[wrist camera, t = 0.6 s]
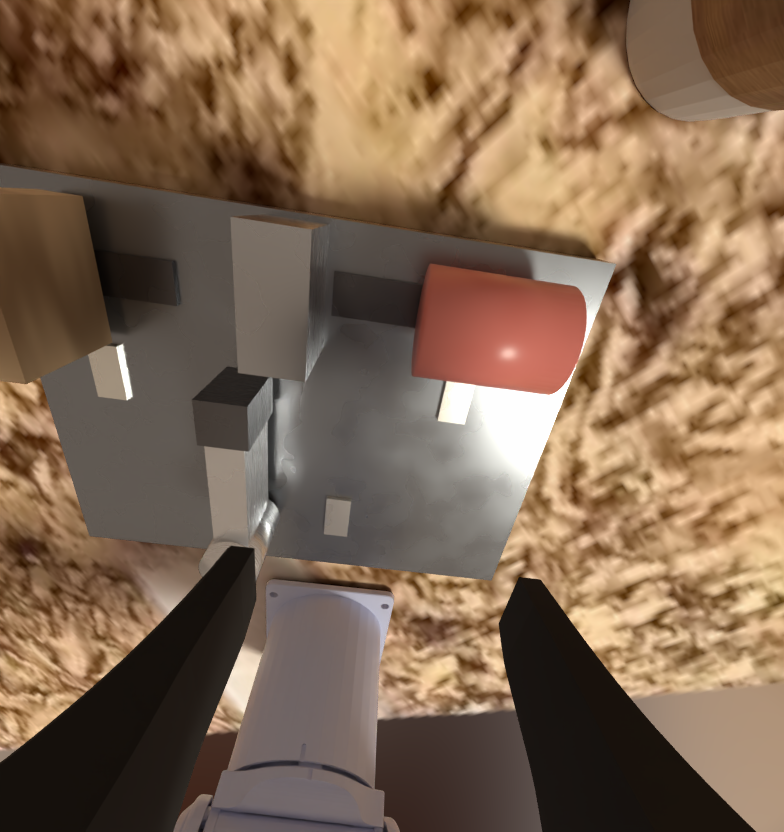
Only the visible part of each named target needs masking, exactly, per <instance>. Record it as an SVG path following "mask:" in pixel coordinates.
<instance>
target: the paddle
mask: <svg viewBox="0 0 784 832" xmlns="http://www.w3.org/2000/svg"><path fill="white" fill-rule="evenodd" d="M110 343H113V342H112V337H111V332H110V327H109V322H108V317H107V313H106V308H105V303H104V298H103V293H102V288H101V283H100V279H99V274H98V269H97V264H96V259H95V254H94V249H93V245H92V240H91V235H90V230H89V225H88V220H87V215H86V210H85V206H84V201H83V196H79V195H72V194H66V193H60V192H53V191H47V190H41V189H25V188H2V187H0V381H5V382H13V383H21V384H28V383H30V382H32V381H34V380H36V379H38V378H40V377H42V376H44V375H46V374H49V373H51V372H53V371H55V370H57V369H59V368H61V367H63V366H65V365H67V364H69V363H71V362H73V361H75V360H77V359H80V358H82V357H84V356H86V355H88V354H90V353H92V352H94V351H96V350H98V349H100V348H102V347H104V346H106V345H108V344H110Z"/></svg>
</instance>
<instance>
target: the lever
mask: <svg viewBox="0 0 784 832" xmlns="http://www.w3.org/2000/svg"><path fill="white" fill-rule="evenodd" d="M192 406H193V415H194V424H195V432H196V441H197V445H198V446H204V449H205V459H206V469H207V478H208V488H209V498H210V508H211V517H212V527H213V539H212V540H211V542H210V544H209V546H208V548H207V550H206V551H205V553H204V555H203V557H202V559H201V560H200V562H199V572H200V574H201V576H202V577H203V576H204V575H205V574H206V573H207V572H208V571H209V569H210V568H211V567H212V566H213V565H214V564H215V562H216V561H217V560H218V559H219V558H220V556H221V555H222V554H223V553H224V552H225V550H226V549H227V548H228V547H230V546H239V547H249V548H255V575H256V580H257V578H258V575H259V572H260V570H261V567H262V564H263V562H264V559H265V556H266V554H267V551H268V548H269V546H270V543H271V540H272V538H273V535H274V532H275V530H276V527H277V524H278V522H279V519H280V513H279V510H278V508H277V506H276V505H275V504H274V503H273V502H272V501H271V500H269V499H268V427H267V421H268V419H269V418H270V416H271V414H272V413H273V378H272V377H264V376H257V375H250V374H242V373H238V368H235V367H228V366H227V367H226V368H225V369H224V370H223V371H222V372H220V373H219V374H218V375H217V376H216V377H215V378H214V379H213V380H212V381H211V382H210V383H209V384H208V385H207V386H206V387H205V388H204V389H203V390H201V391H200V392H199V393H198V394H197V395H196V396H195V397H194V398H193V399H192Z"/></svg>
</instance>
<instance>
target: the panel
mask: <svg viewBox="0 0 784 832" xmlns="http://www.w3.org/2000/svg"><path fill="white" fill-rule="evenodd" d="M0 187H2V188H25V189H41V190H47V191H53V192H60V193H66V194H72V195H79V196H83V201H84V206H85V210H86V215H87V220H88V225H89V230H90V235H91V240H92V245H93V249H94V254H95V259H96V264H97V269H98V274H99V279H100V283H101V288H102V293H103V298H104V303H105V308H106V313H107V317H108V322H109V327H110V332H111V337H112V342H113V343H110V344H108V345H106V346H104V347H102V348H100V349H98V350H96V351H94V352H92V353H90V354H88V355H86V356H84V357H82V358H80V359H77V360H75V361H73V362H71V363H69V364H67V365H65V366H63V367H61V368H59V369H57V370H55V371H53V372H51V373H49V374H46V375H44V376H42V377H40V378H41V381H42V384H43V388H44V391H45V394H46V397H47V400H48V404H49V407H50V410H51V413H52V417H53V420H54V423H55V426H56V429H57V433H58V436H59V439H60V442H61V445H62V449H63V452H64V455H65V458H66V462H67V465H68V468H69V471H70V474H71V478H72V481H73V484H74V487H75V490H76V494H77V497H78V500H79V503H80V507H81V510H82V513H83V516H84V519H85V523H86V526H87V529H88V532H89V535H90V536H94V537H103V538H112V539H121V540H130V541H139V542H148V543H157V544H166V545H175V546H184V547H193V548H202V549H207V548H208V546H209V544H210V542H211V540H212V539H213V527H212V517H211V508H210V498H209V488H208V478H207V469H206V459H205V449H204V446H198V445H197V441H196V432H195V424H194V415H193V406H192V399H193V398H194V397H195V396H196V395H197V394H198V393H199V392H200V391H201V390H203V389H204V388H205V387H206V386H207V385H208V384H209V383H210V382H211V381H212V380H213V379H214V378H215V377H216V376H217V375H218V374H219V373H220V372H222V371H223V370H224V369H225V368H226V367H227V366H228V367H235V368H238V373H242V374H250V375H257V376H264V377H272V378H273V413H272V414H271V416H270V418H269V419H268V421H267V427H268V499H269V500H271V501H272V502H273V503H274V504H275V505H276V506H277V508H278V510H279V513H280V519H279V522H278V524H277V527H276V530H275V532H274V535H273V538H272V540H271V543H270V546H269V548H268V551H267V554H266V556H275V557H284V558H293V559H302V560H311V561H320V562H329V563H338V564H347V565H356V566H365V567H374V568H383V569H392V570H401V571H411V572H420V573H429V574H438V575H447V576H456V577H465V578H474V579H483V580H492V578H493V575H494V573H495V570H496V568H497V565H498V562H499V560H500V557H501V555H502V552H503V550H504V547H505V545H506V542H507V540H508V537H509V535H510V532H511V530H512V527H513V524H514V522H515V519H516V517H517V514H518V512H519V509H520V507H521V504H522V502H523V499H524V497H525V494H526V491H527V489H528V486H529V484H530V481H531V479H532V476H533V474H534V471H535V469H536V466H537V464H538V461H539V459H540V456H541V453H542V451H543V448H544V446H545V443H546V441H547V438H548V436H549V433H550V431H551V428H552V426H553V423H554V421H555V418H556V415H557V413H558V410H559V408H560V405H561V403H562V400H563V398H564V395H565V393H566V390H567V388H568V385H569V382H570V380H571V377H572V375H573V373H572V375H571V376H570V378H569V379H568V381H567V382H566V383H565V385H564V386H563V387H562V388H561V389H560V390H559V391H557V392H556V393H554V394H552V395H542V394H535V393H528V392H521V391H513V390H506V389H499V388H492V387H485V386H478V385H470V384H463V383H456V382H449V381H442V380H435V379H427V378H420V377H413V376H412V372H411V364H412V350H413V340H414V333H415V326H416V319H417V313H418V307H419V302H420V296H421V292H422V287H423V283H424V279H425V275H426V272H427V269H428V266H429V264H430V263H431V264H437V265H443V266H450V267H456V268H462V269H469V270H475V271H482V272H488V273H494V274H501V275H507V276H514V277H520V278H526V279H533V280H539V281H546V282H552V283H558V284H565V285H571V286H575V287H577V288H579V289H580V291H581V292H582V294H583V296H584V299H585V303H586V310H587V324H586V333H585V339H584V343H583V347H584V344H585V342H586V339H587V337H588V334H589V332H590V329H591V327H592V324H593V322H594V319H595V317H596V314H597V311H598V309H599V306H600V304H601V301H602V299H603V296H604V294H605V291H606V289H607V286H608V284H609V281H610V279H611V276H612V273H613V271H614V268H615V266H616V264H614V263H611V262H607V261H603V260H600V259H595V258H589V257H583V256H577V255H570V254H564V253H558V252H552V251H546V250H539V249H533V248H527V247H521V246H515V245H508V244H502V243H496V242H490V241H483V240H477V239H471V238H465V237H459V236H452V235H446V234H440V233H434V232H428V231H421V230H415V229H409V228H403V227H397V226H390V225H384V224H378V223H372V222H366V221H359V220H353V219H347V218H341V217H335V216H328V215H322V214H316V213H310V212H304V211H297V210H291V209H285V208H279V207H273V206H266V205H260V204H254V203H248V202H241V201H235V200H229V199H223V198H217V197H210V196H204V195H198V194H192V193H186V192H179V191H173V190H167V189H161V188H155V187H148V186H142V185H136V184H130V183H124V182H117V181H111V180H105V179H99V178H93V177H86V176H80V175H74V174H68V173H62V172H55V171H49V170H43V169H37V168H31V167H24V166H18V165H11V164H2V163H0ZM583 347H582V350H583ZM581 352H582V351H581ZM580 355H581V354H580ZM578 360H579V359H578ZM576 365H577V364H576ZM574 370H575V369H574ZM573 372H574V371H573Z"/></svg>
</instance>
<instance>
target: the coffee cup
mask: <svg viewBox="0 0 784 832" xmlns="http://www.w3.org/2000/svg"><path fill="white" fill-rule="evenodd" d="M626 49H627V55H628V62H629V68H630V71H631V74H632V76H633V79H634V82H635V85H636V87H637V88H638V90H639V91H640V93H641V94H642V96H643V97H644V99H645V100H646V101H647V102H648V103H649V104H650V105H651V106H652V107H653V108H654V109H656V110H657V111H658V112H660V113H662V114H664V115H666V116H668V117H670V118H672V119H677V120H683V121H688V122H689V121H703V120H714V119H722V118H728V117H735V116H742V115H748V114H755V113H761V112H768V111H776V110H784V0H630V5H629V11H628V17H627V31H626Z"/></svg>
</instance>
